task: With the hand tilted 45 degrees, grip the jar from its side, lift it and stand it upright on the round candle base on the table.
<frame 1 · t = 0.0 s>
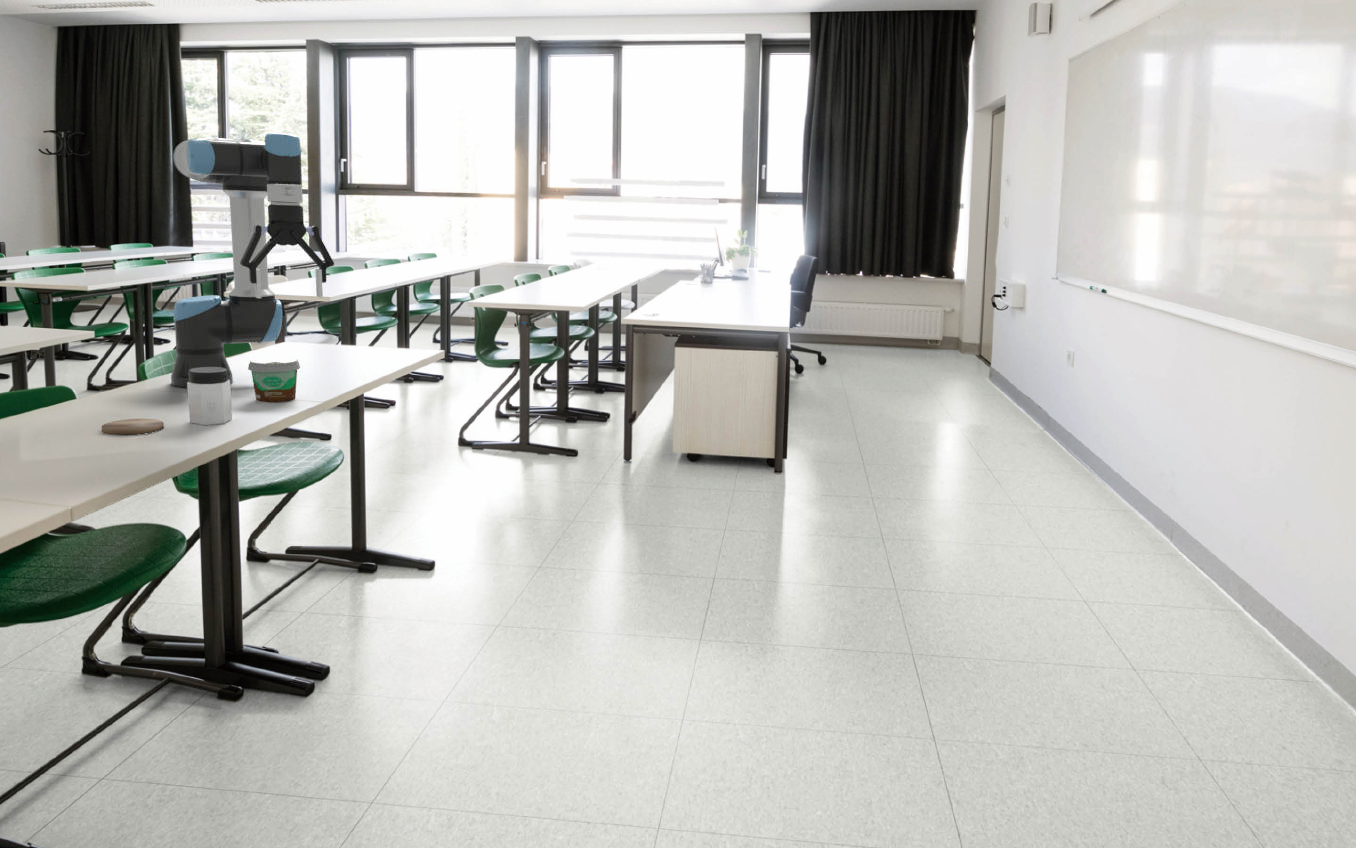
hand: (289, 297, 235), 28 cm above the table, tool pointing down, fingers open, 13 cm apart
jar: (211, 422, 232), on the table
food container: (277, 401, 256), on the table
candle base: (133, 429, 222), on the table
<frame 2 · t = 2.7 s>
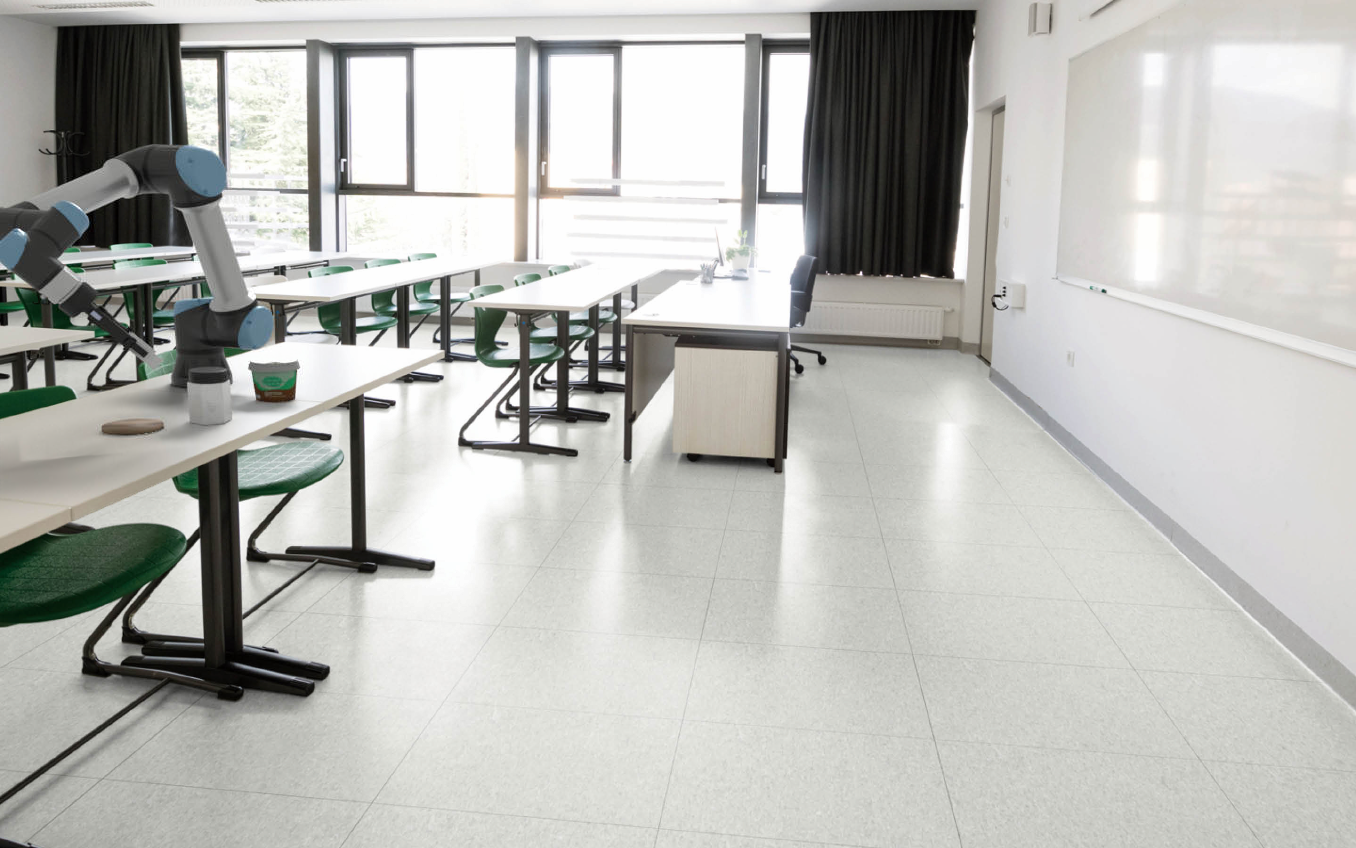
hand: (155, 360, 223), 15 cm above the table, tool tilted 45°, fingers open, 13 cm apart
nothing on the table moved.
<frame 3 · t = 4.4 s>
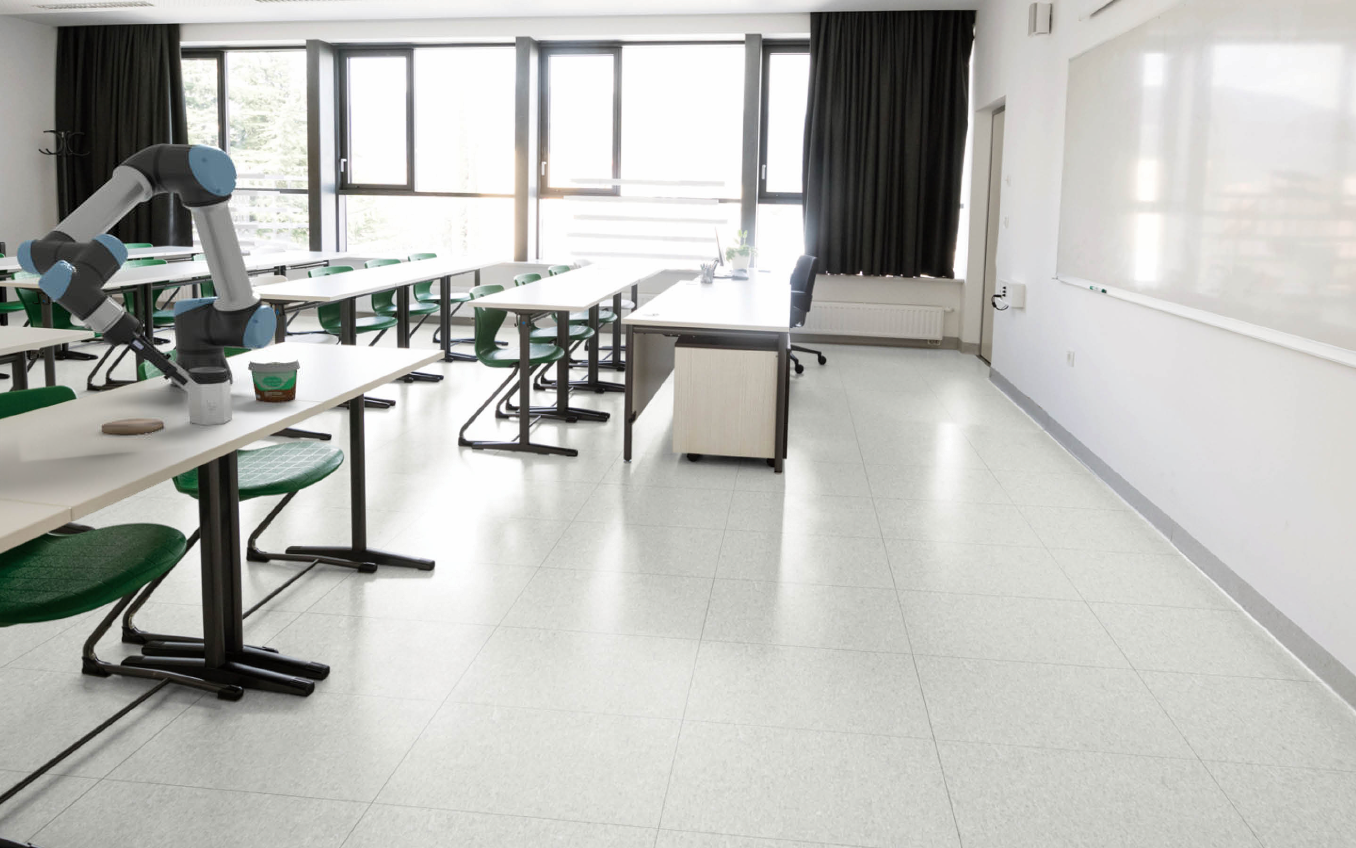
hand: (193, 387, 228), 8 cm above the table, tool tilted 45°, fingers open, 13 cm apart
nothing on the table moved.
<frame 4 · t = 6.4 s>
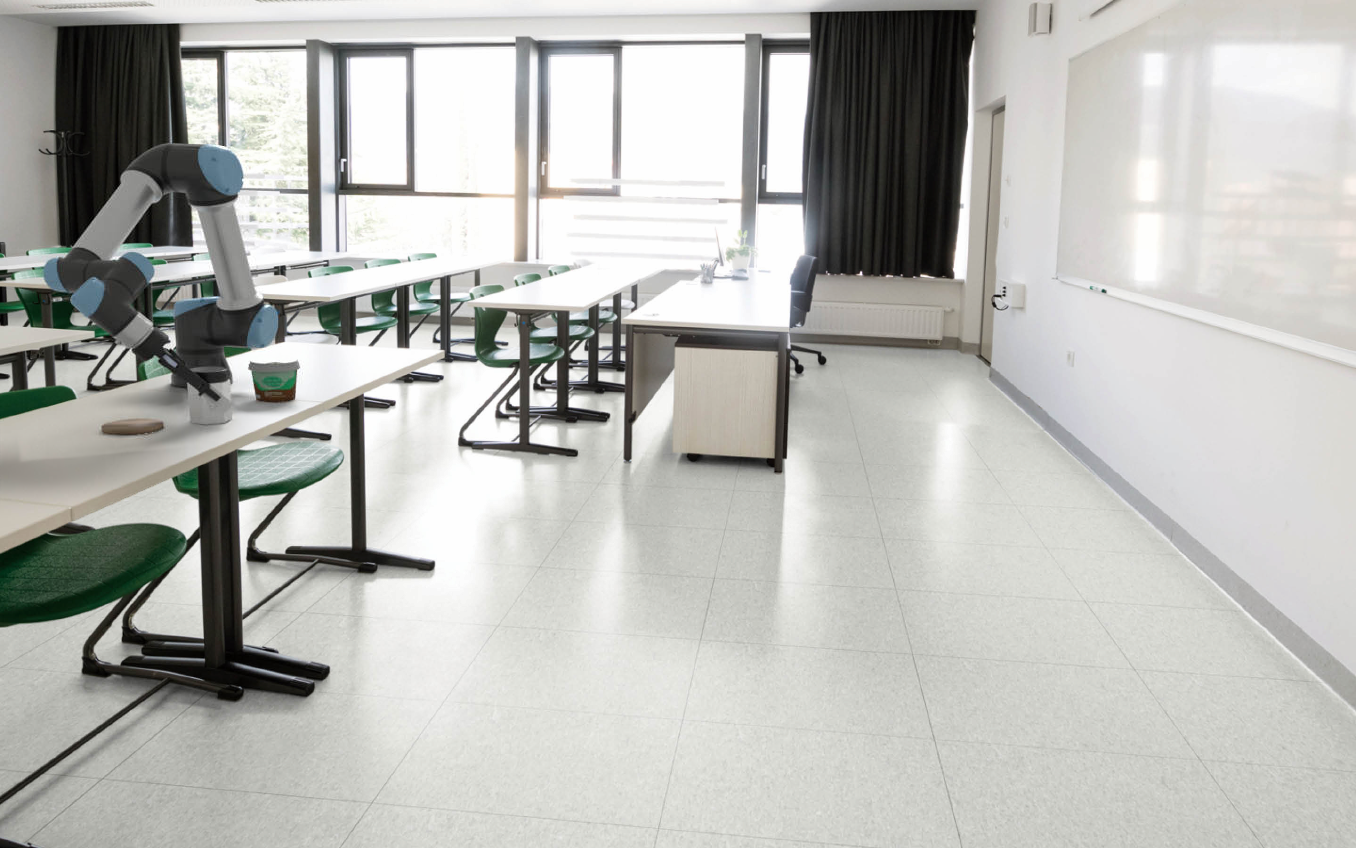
hand: (226, 404, 233), 4 cm above the table, tool tilted 45°, fingers closed on jar, 7 cm apart
jar: (211, 421, 232), on the table, touching gripper
everything else where it was.
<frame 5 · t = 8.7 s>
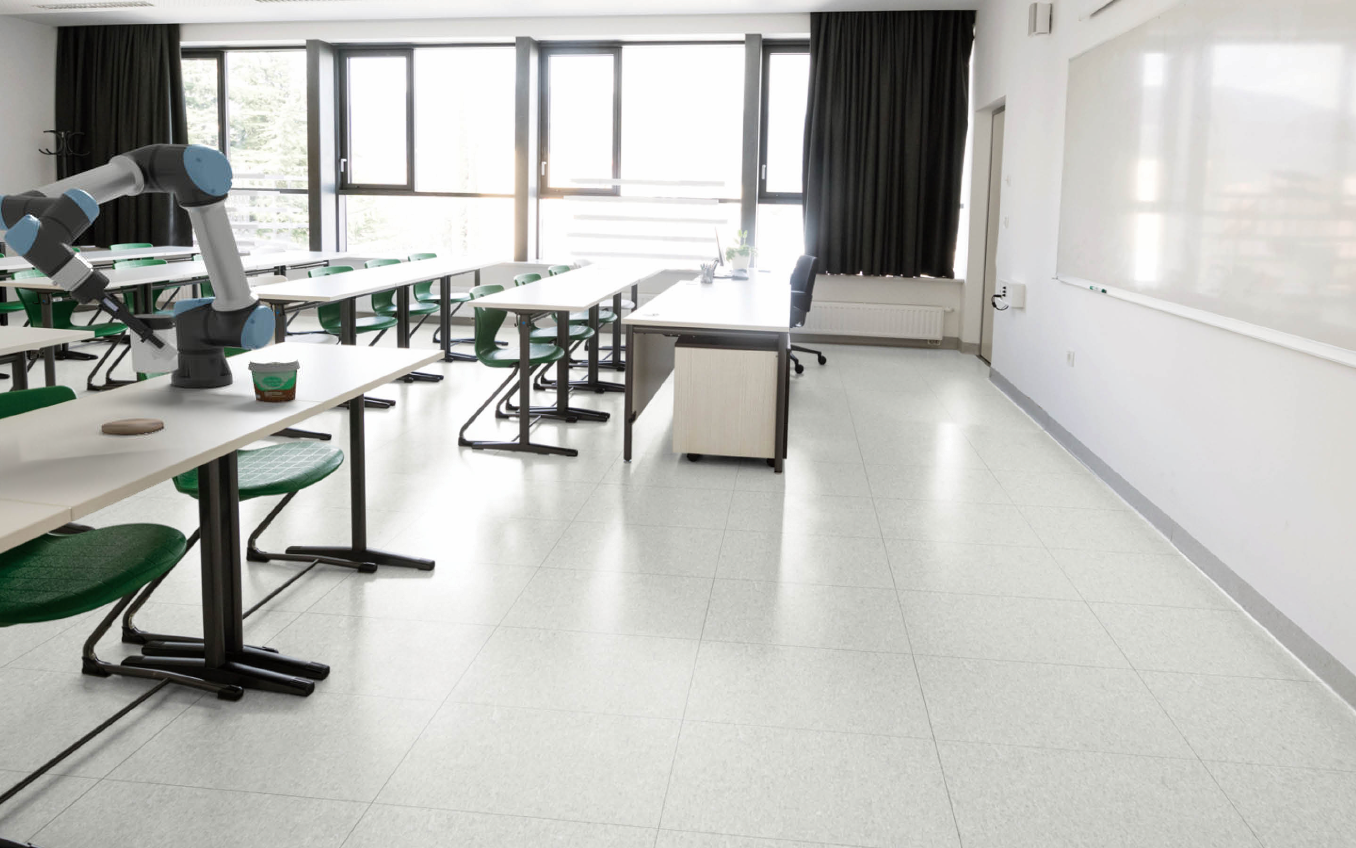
hand: (171, 353, 223), 16 cm above the table, tool tilted 45°, fingers closed on jar, 7 cm apart
jar: (155, 371, 222), point 12 cm above the table, touching gripper
everything else where it was.
when the fingers open (6 cm above the table, at t = 11.2 s): jar moves 2 cm, resting on candle base.
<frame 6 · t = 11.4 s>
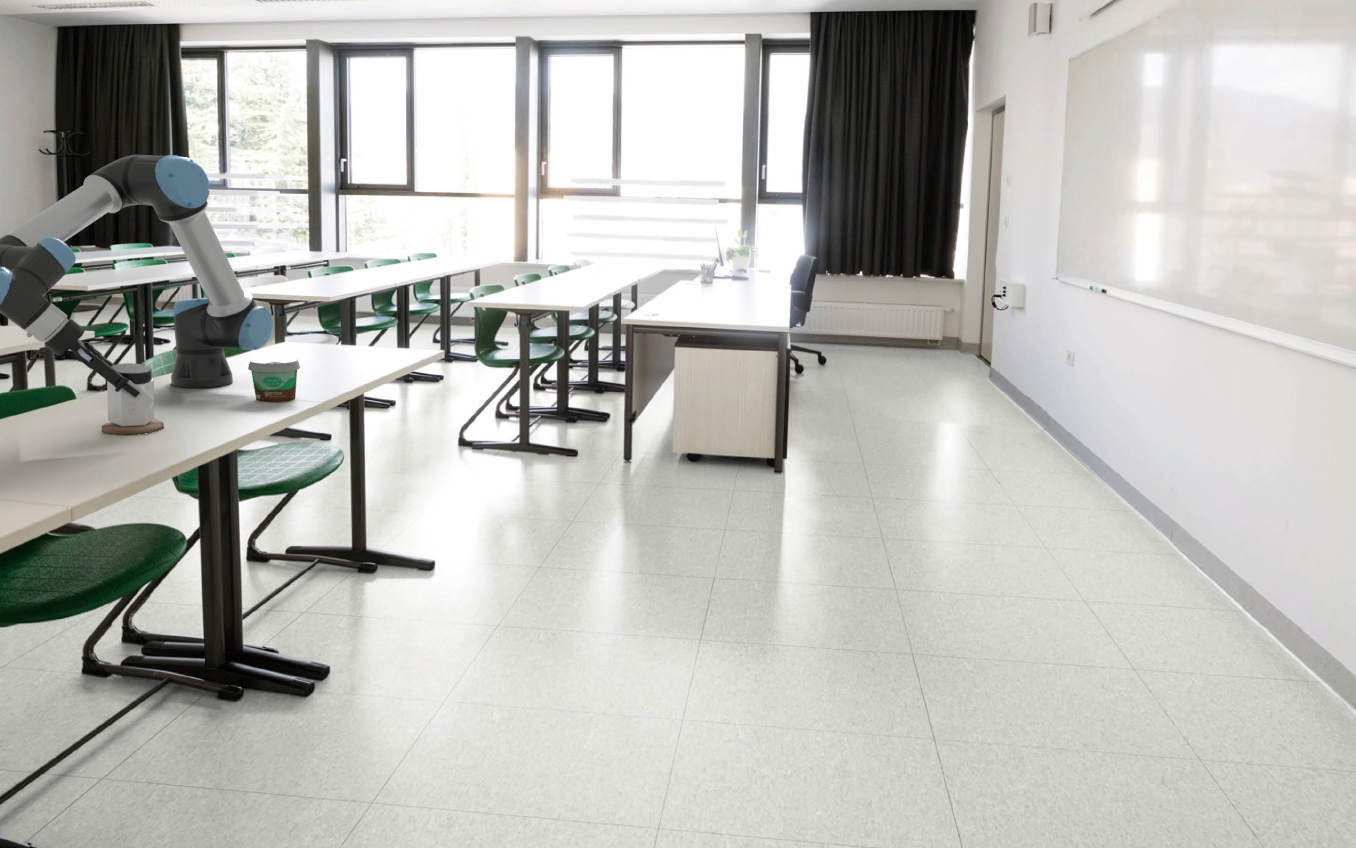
hand: (148, 400, 222), 6 cm above the table, tool tilted 45°, fingers open, 8 cm apart
jar: (131, 421, 223), point 1 cm above the table, touching candle base, gripper
everything else where it was.
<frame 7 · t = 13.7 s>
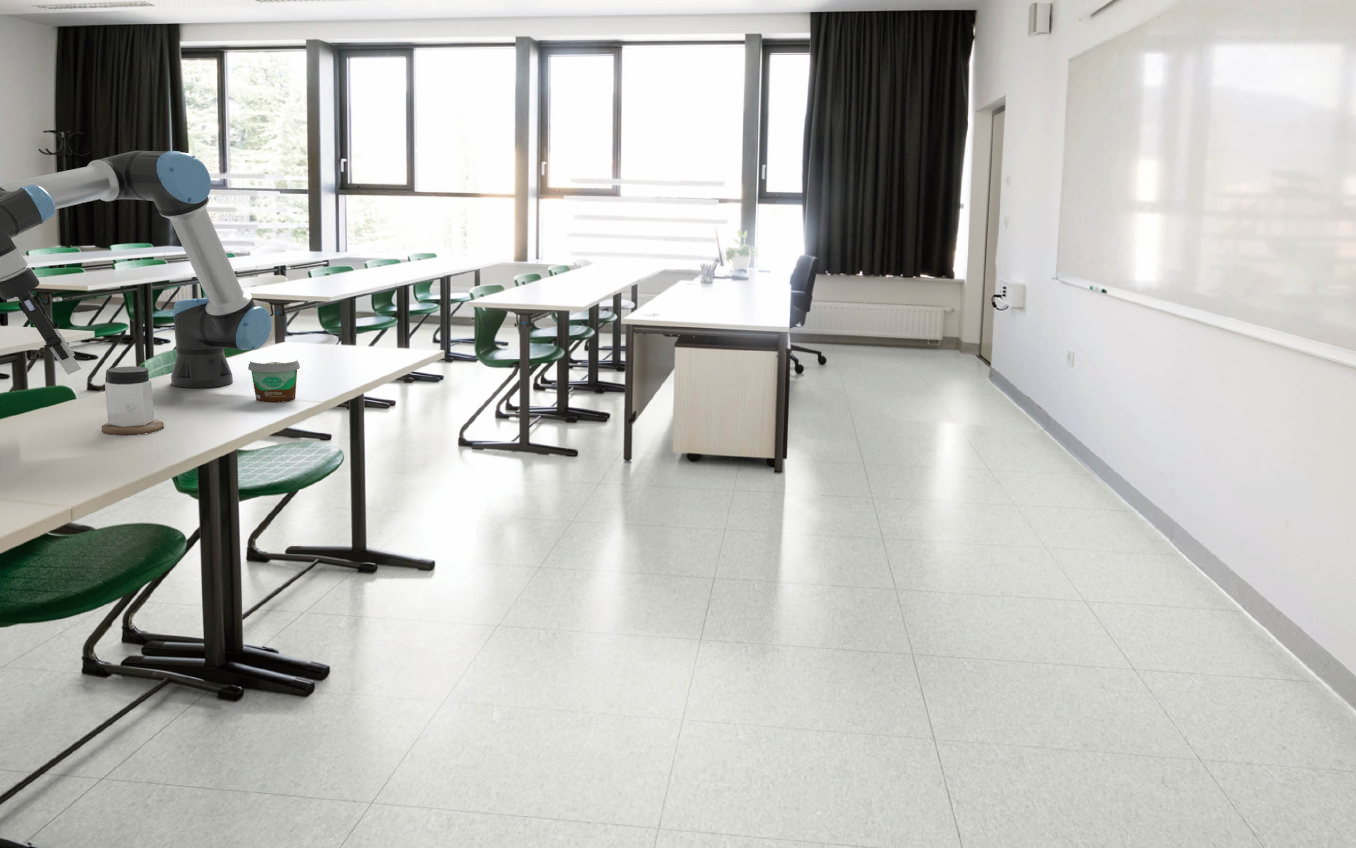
hand: (71, 364, 214), 15 cm above the table, tool tilted 25°, fingers open, 13 cm apart
jar: (131, 423, 223), point 1 cm above the table, touching candle base
everything else where it was.
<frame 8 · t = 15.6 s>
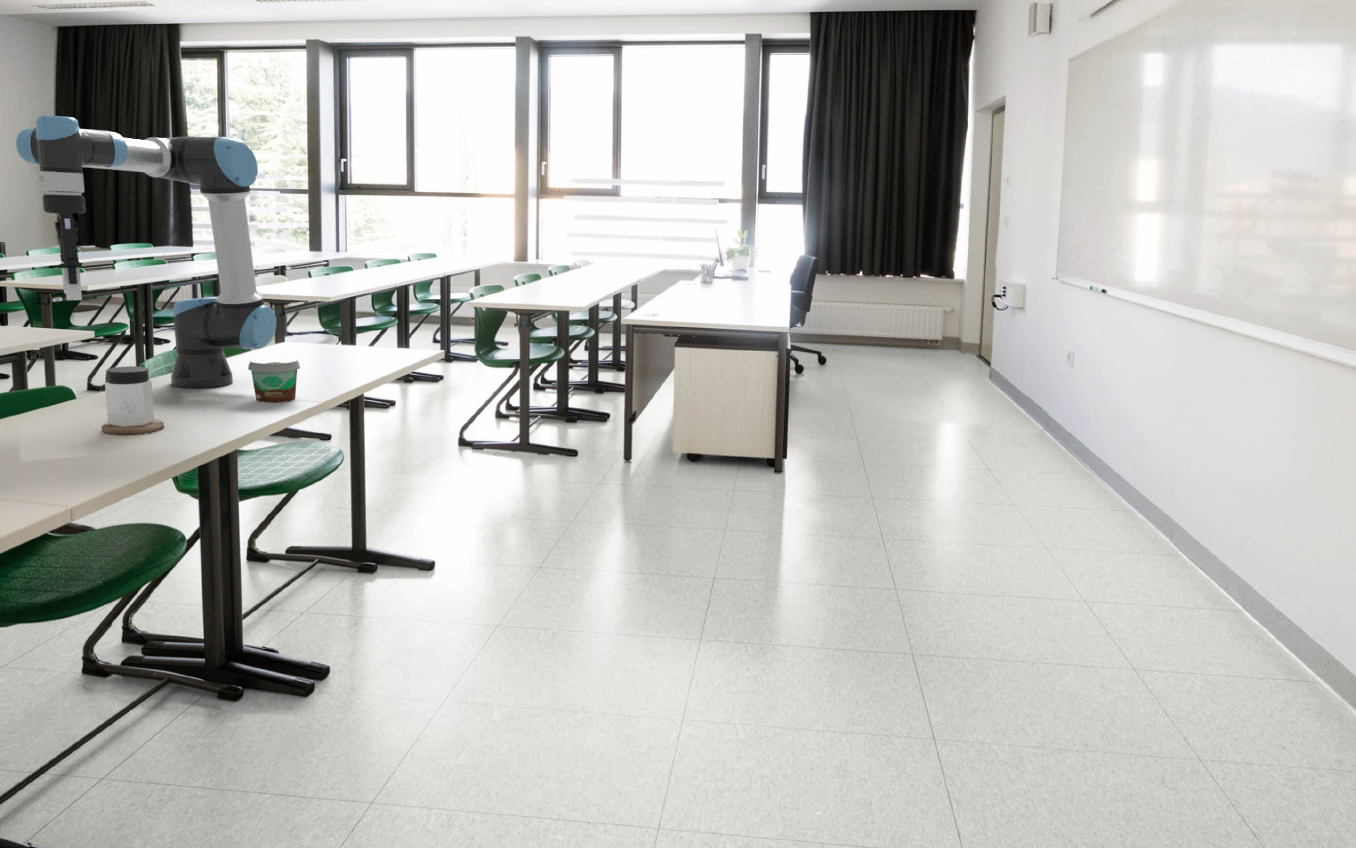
hand: (72, 296, 214), 29 cm above the table, tool pointing down, fingers open, 13 cm apart
nothing on the table moved.
at the end: jar 1.8 cm from the candle base (horizontally); jar tilted 0°; the gripper is holding nothing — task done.
